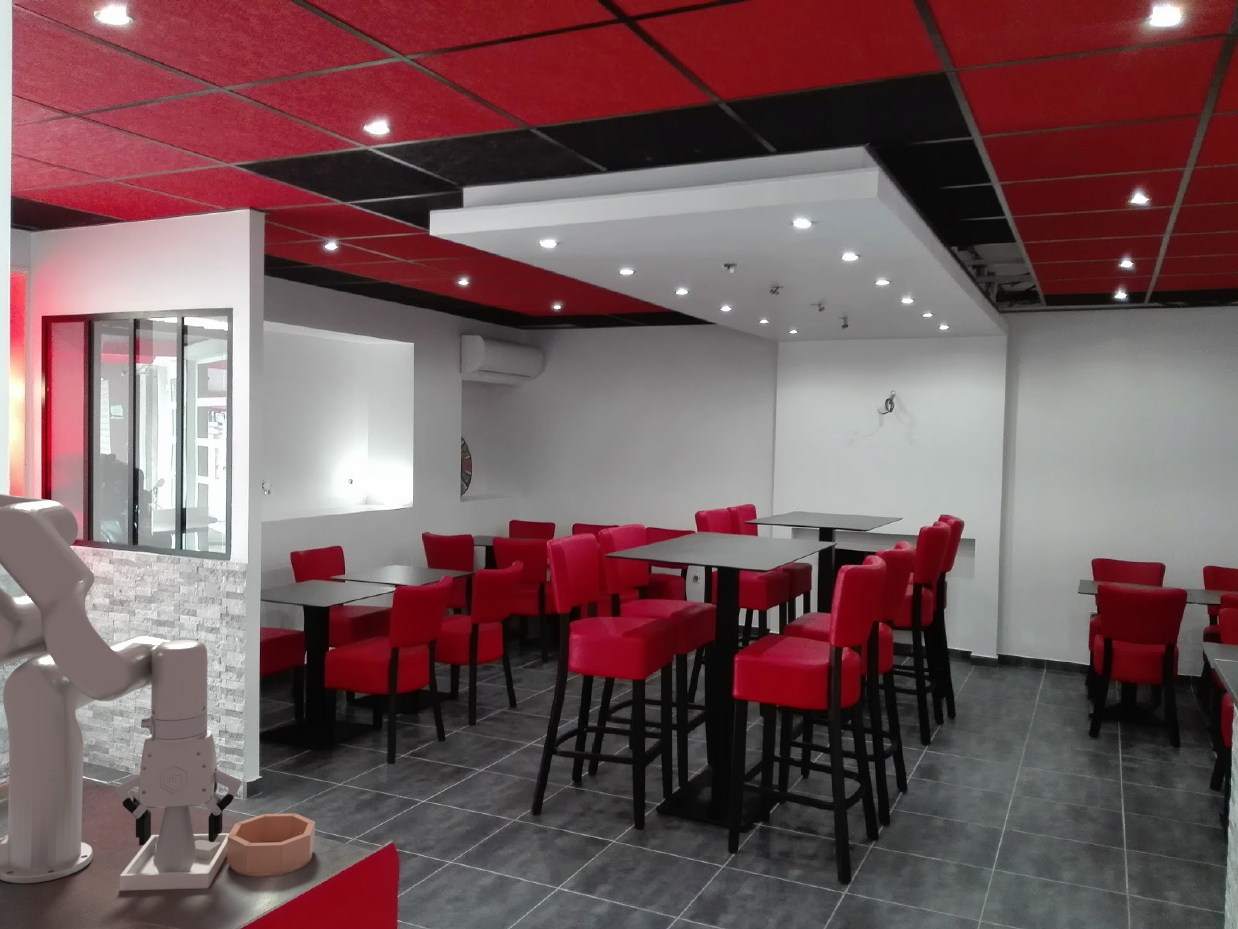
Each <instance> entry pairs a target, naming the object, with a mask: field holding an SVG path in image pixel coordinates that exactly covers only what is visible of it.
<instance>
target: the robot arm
mask: <svg viewBox="0 0 1238 929" xmlns="http://www.w3.org/2000/svg"><path fill="white" fill-rule="evenodd" d="M78 526H79V525H78V521H77V519H76V517H75V514H74V513H73V512H72V510H70V508H68V507H67V506H66V505H64V504H62V503H61V502H58V501H55V500H50V499H43V498H34V497H26V496H19V495H10V494H3V493H0V565H1V566H2V568H3V569H4V570H5V571H6V572H7V574H8V575H9V576H10V577H11V578H12V579H13V581H14V582H15V583H16V584H17V586H19V587H20V589H21V590H22V591H23V592H24V594H21V595H16V596H11V595H9V594H8V593H7V592H5V591H4V590H3V589H2V588H1V587H0V666H4V665H9V664H12V663H15V662H17V661H21V660H23V659H26V658H30V657H31V658H30V659H28V660H26V661H25V662H23V663H21V664H19V666H17V667H16V668H15V669H14V670H13V671H11V673H10V674H9V675H8V677H7V678H6V681H5V683H4V686H3V689H2V690H3V691H2V703H3V708H4V709H3V710H4V713H5V720H6V722H7V723H6V724H7V730H8V742H9V743H8V747H9V748H8V749H9V750H8V751H9V752H8V753H9V754H8V755H9V756H8V767H9V768H8V769H9V770H8V809H7V810H8V813H7V814H8V818H7V823H8V824H7V834H6V835H4V836H3V837H0V880H1V881H3V882H7V883H11V884H34V883H42V882H48V881H53V880H54V881H55V880H57V879H62V878H64V877H67V876H70V875H72V874H75V873H77V872H79V871H81V870H82V869H84V868H85V867H87V865H89V864H90V863H91V862H92V859H93V857H94V856H93V855H94V850H93V848H92V846H91V845H90V844H88V843H86V842H83V841H82V826H83V825H82V824H83V823H82V821H83V789H84V788H83V783H84V782H83V780H84V775H83V774H84V738H83V734H82V731H81V730H82V729H81V727H80V725H79V722H78V720H77V719H78V718H77V717H76V711H77V710H79V709H80V708H82V707H84V706H86V705H90V704H92V703H93V702H95V701H98V702H111V701H115V700H117V699H119V698H121V697H124V696H126V695H128V694H130V693H133V692H135V691H137V690H139V689H143V688H146V687H149V686H151V694H150V695H151V700H150V702H151V706H150V707H151V709H150V710H151V716H150V717H147V718H142V719H141V722H140V726H141V728H142V729H147V730H149V735H148V736H146V737H145V739H144V741H143V746H142V747H143V748H142V752H141V759H140V768H139V774H138V775H136V776H134V777H133V778H131V779H129V780H127V781H125V782H123V783H121V784H120V785H118V786H117V787H116V789H115V793H116V794H117V796H118V798H119V799H120V800H119V801H121V802H122V806H123V807H124V808H125V809H126V810H127V812H130V813H131V814H132V818H133V819H135V838H137V839H138V846H144V844H146V842H147V841H148V840H149V839H150V837H151V835H152V812H151V811H150V810H149V808H151V809H152V808H153V809H157V808H159V809H160V808H164V809H165V807H188V806H189V807H199V806H203V805H204V807H206V808H207V809H208V810H209V811H210V812H211V813H210V814H209V816H208V833H207V834H208V840H209V841H210V842H214V841H215V839H216V838H217V836H218V834H221V833H223V812H224V810H225V809H227V807H228V806H229V805H230V804H232V802H233V800H234V799H235V797H236V795H237V793H238V792H239V790H240V788H241V786H242V781H241V780H240V779H239V778H236V777H233V776H232V775H229V774H227V773H225V772H223V771H220V770H219V769H218V761H217V753H216V747H215V746H216V745H215V741H214V737H213V732H212V731H211V730H210V729H209V730H208V650H207V646H206V645H205V643H203V642H202V641H199V640H194V639H177V640H175V639H174V640H169V639H163V638H158V637H153V636H149V635H138V636H137V635H136V636H132V637H129V638H126V639H123V640H121V641H118V642H117V641H116V642H115V643H112V644H108V643H107V642H106V641H105V640H104V639H103V637H101V635H100V634H99V633H98V631H97V630H96V629H95V627H94V626H93V625H92V623H91V622H90V619H89V617H88V615H87V611H86V598H87V596H88V593H89V591H90V590H91V588H92V587H93V585H94V583H95V574H94V573H93V571H92V570H91V569H90V568H89V567H88V565H87V564H86V563H85V562H84V561H83V560H82V559H81V557H80V556H79V555H78V554H77V553H76V552H75V550H73V548H72V547H71V546H72V545H73V544H74V543H75V541H76V540H77V537H78V533H79V527H78ZM218 785H222V786H223V787H226V788H227V790H228V791H227V793H226V794H225V795H224V796H223V797H221V796H220V795H219V794H218V793H217V791H218ZM137 787H138V799H137V798H136V797H135V796H133V794H132V792H131V791H132V790H133V789H136V788H137Z"/></svg>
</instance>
